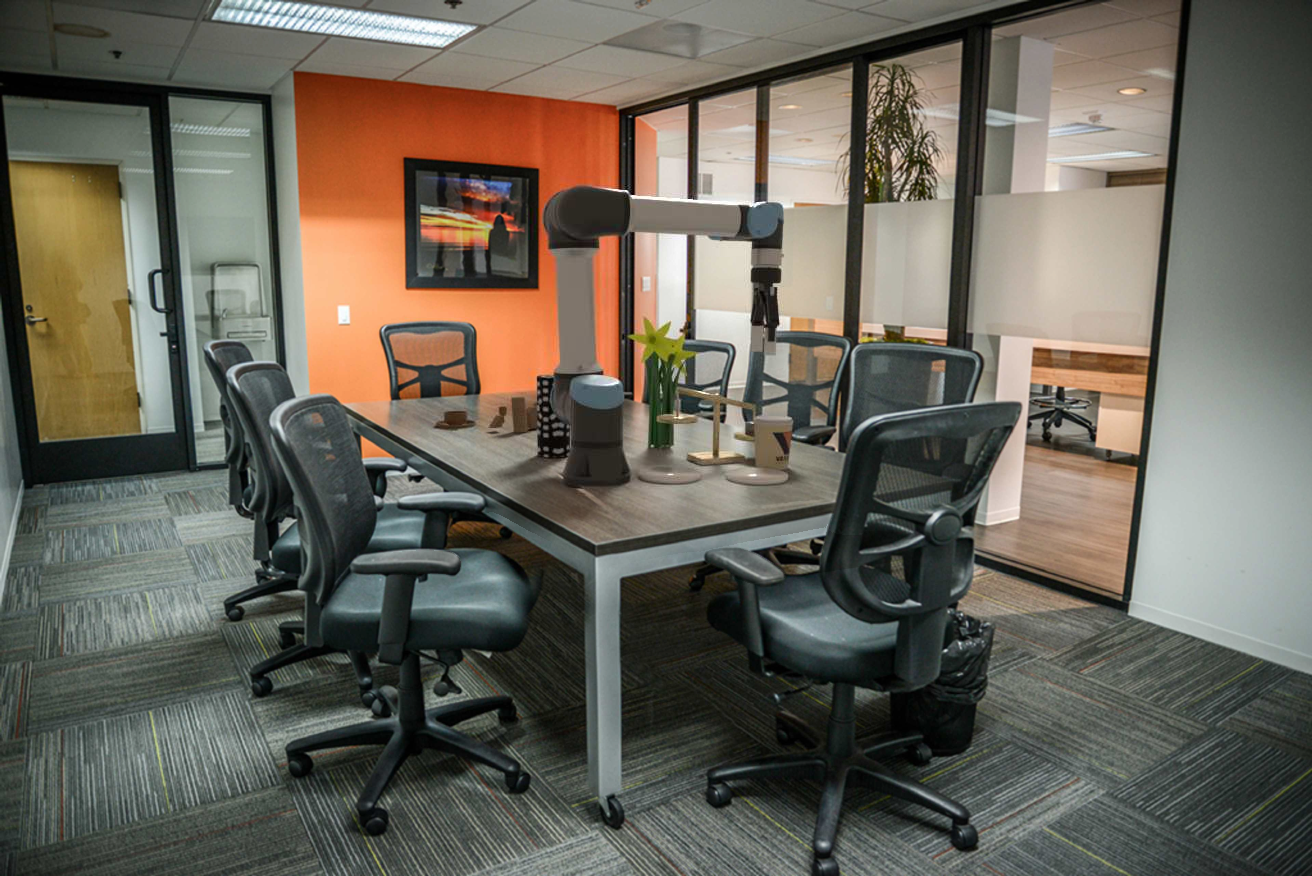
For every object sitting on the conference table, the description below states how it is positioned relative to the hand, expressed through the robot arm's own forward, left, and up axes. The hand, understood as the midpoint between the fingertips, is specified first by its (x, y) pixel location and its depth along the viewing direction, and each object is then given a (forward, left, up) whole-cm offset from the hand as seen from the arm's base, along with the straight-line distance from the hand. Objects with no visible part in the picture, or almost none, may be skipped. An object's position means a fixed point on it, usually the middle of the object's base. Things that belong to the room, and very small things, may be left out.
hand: (763, 353), depth 224 cm
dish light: (-32, -15, -26) cm, 44 cm away
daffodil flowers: (-18, +20, -27) cm, 38 cm away
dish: (-14, -23, -26) cm, 38 cm away
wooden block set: (-45, +61, -27) cm, 80 cm away
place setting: (-58, +75, -27) cm, 99 cm away
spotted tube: (-48, +21, -27) cm, 59 cm away
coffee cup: (-4, -13, -27) cm, 30 cm away
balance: (-13, -1, -26) cm, 29 cm away
